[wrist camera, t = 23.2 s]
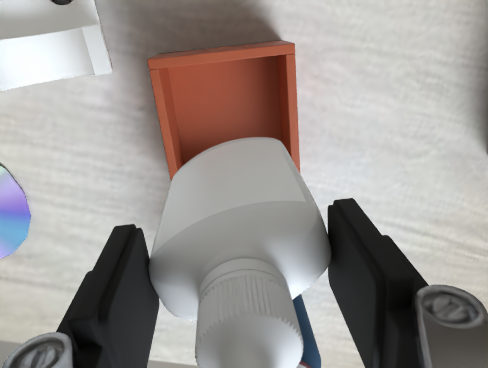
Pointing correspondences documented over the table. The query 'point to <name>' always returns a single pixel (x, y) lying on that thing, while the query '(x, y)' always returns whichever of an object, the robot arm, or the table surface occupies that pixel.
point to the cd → (12, 214)
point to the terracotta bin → (225, 98)
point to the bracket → (50, 42)
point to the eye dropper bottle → (240, 253)
